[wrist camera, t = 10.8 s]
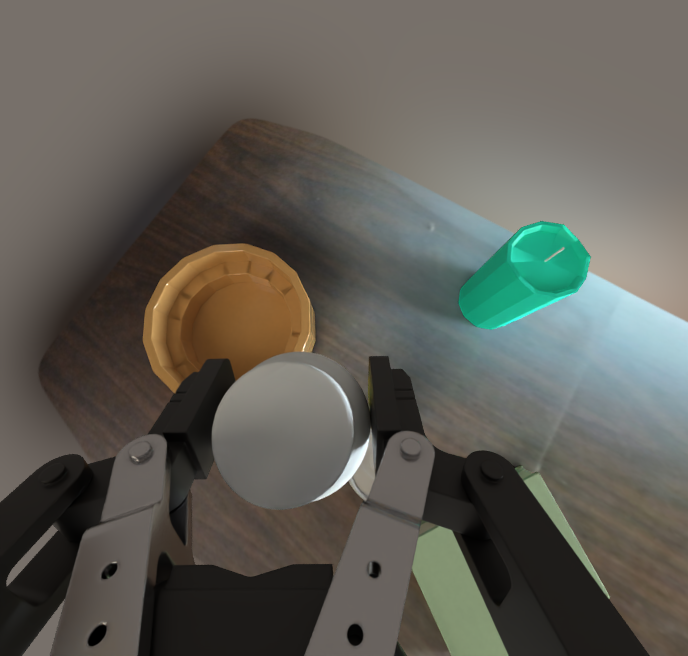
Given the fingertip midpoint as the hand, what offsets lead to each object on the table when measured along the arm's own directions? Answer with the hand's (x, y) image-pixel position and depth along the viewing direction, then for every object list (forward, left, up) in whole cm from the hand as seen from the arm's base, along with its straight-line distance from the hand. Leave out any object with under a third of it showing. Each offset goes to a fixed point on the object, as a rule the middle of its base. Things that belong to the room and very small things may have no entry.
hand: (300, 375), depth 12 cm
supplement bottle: (-1, -2, -6) cm, 7 cm away
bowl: (-5, +9, -19) cm, 22 cm away
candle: (+19, +1, -19) cm, 27 cm away
